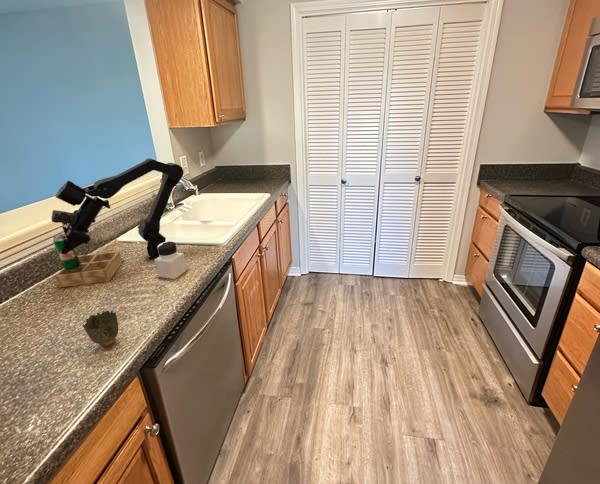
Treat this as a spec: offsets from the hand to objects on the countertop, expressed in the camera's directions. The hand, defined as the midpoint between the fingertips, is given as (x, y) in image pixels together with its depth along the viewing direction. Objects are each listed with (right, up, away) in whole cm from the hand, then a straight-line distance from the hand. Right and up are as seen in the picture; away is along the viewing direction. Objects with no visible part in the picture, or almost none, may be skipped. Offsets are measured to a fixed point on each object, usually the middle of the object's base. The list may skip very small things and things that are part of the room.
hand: (61, 251), depth 110 cm
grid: (+4, -9, +10) cm, 14 cm away
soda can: (+1, -6, +4) cm, 7 cm away
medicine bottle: (+35, -9, +7) cm, 37 cm away
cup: (+32, -23, -26) cm, 47 cm away
